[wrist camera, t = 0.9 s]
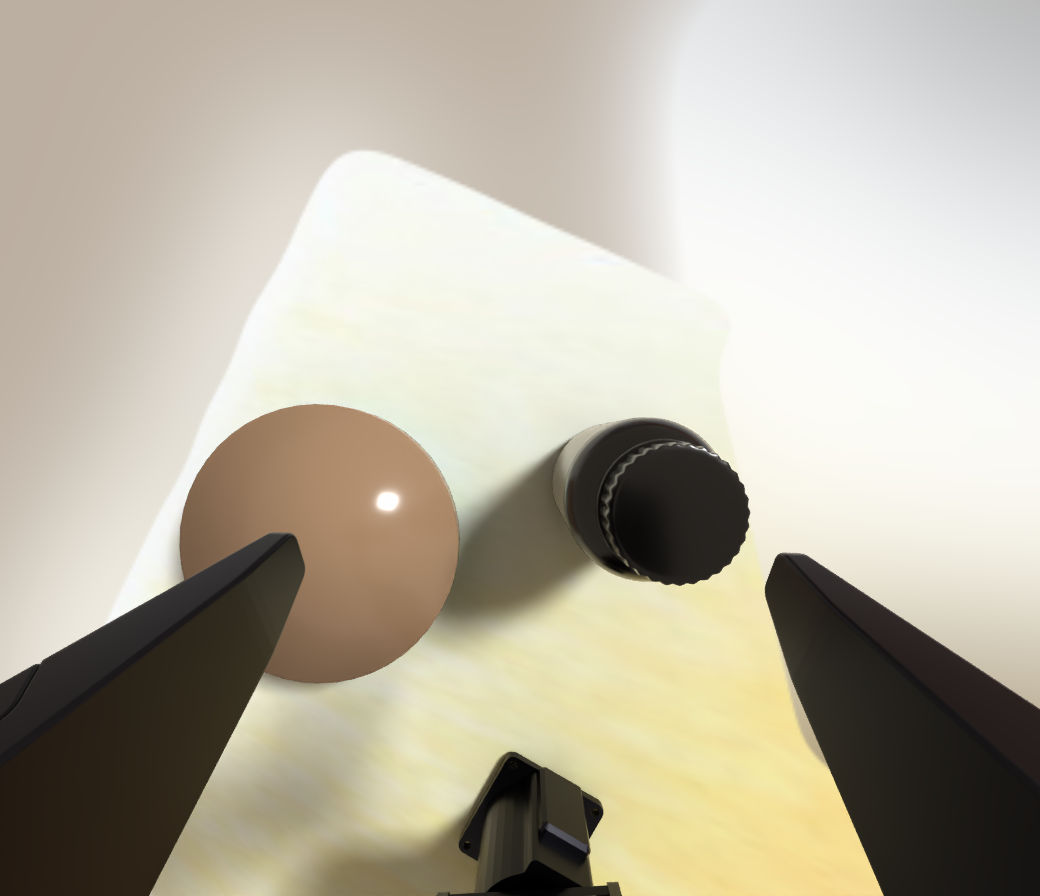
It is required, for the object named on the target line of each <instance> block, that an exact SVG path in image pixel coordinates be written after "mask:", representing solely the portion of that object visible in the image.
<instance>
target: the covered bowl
mask: <svg viewBox="0 0 1040 896" xmlns="http://www.w3.org/2000/svg"><path fill="white" fill-rule="evenodd" d="M271 532H289V533H292V534H294V535H295V536H296V538H297V541H298V544H299V547H300V550H301V553H302V557H303V560H304V563H305V574H304V578H303V581H302V583H301V586H300V588H299V591H298V593H297V596H296V598H295V601H294V603H293V606H292V609H291V611H290V614H289V616H288V619H287V621H286V624H285V626H284V629H283V631H282V634H281V637H280V639H279V641H278V644H277V646H276V648H275V651H274V653H273V655H272V657H271V659H270V661H269V663H268V665H267V667H266V669H265V671H264V672H266V673H269V674H272V675H274V676H277V677H280V678H283V679H288V680H293V681H298V682H307V683H332V682H341V681H346V680H351V679H355V678H358V677H361V676H364V675H367V674H370V673H373V672H375V671H377V670H379V669H381V668H383V667H385V666H387V665H389V664H390V663H392V662H393V661H395V660H396V659H398V658H399V657H401V656H402V655H403V654H405V653H406V652H407V651H408V650H409V649H410V648H411V647H413V646H414V645H415V644H416V643H417V642H418V641H419V640H420V638H421V637H422V636H423V635H424V634H425V633H426V632H427V630H428V629H429V628H430V626H431V625H432V623H433V622H434V620H435V619H436V617H437V616H438V614H439V612H440V610H441V608H442V607H443V605H444V602H445V600H446V598H447V596H448V594H449V592H450V590H451V587H452V584H453V581H454V578H455V575H456V570H457V564H458V559H459V546H460V534H459V522H458V517H457V512H456V507H455V503H454V500H453V498H452V495H451V492H450V489H449V487H448V485H447V483H446V481H445V479H444V477H443V475H442V473H441V471H440V470H439V468H438V467H437V465H436V464H435V462H434V461H433V459H432V458H431V457H430V456H429V454H428V453H427V452H426V451H425V450H424V449H423V448H422V447H421V445H420V444H418V443H417V442H416V441H415V440H414V439H413V438H412V437H410V436H409V435H408V434H407V433H406V432H404V431H403V430H401V429H400V428H398V427H396V426H395V425H393V424H392V423H390V422H388V421H386V420H384V419H382V418H380V417H378V416H375V415H372V414H369V413H366V412H363V411H360V410H356V409H351V408H345V407H340V406H335V405H320V404H313V405H299V406H293V407H289V408H284V409H279V410H277V411H274V412H271V413H268V414H265V415H263V416H261V417H259V418H257V419H255V420H253V421H251V422H249V423H247V424H245V425H244V426H242V427H241V428H240V429H238V430H237V431H235V432H234V433H232V434H231V435H230V436H229V437H228V438H227V439H226V440H224V441H223V442H222V443H221V444H220V445H219V446H218V447H217V448H216V449H215V451H214V452H213V453H212V454H211V455H210V457H209V458H208V459H207V460H206V462H205V463H204V465H203V466H202V468H201V469H200V471H199V473H198V474H197V476H196V478H195V480H194V482H193V484H192V487H191V489H190V491H189V494H188V497H187V500H186V503H185V506H184V510H183V515H182V521H181V526H180V557H181V565H182V570H183V575H184V579H185V580H186V579H188V578H190V577H192V576H193V575H195V574H197V573H199V572H201V571H202V570H204V569H206V568H208V567H209V566H211V565H213V564H215V563H217V562H218V561H220V560H222V559H224V558H225V557H227V556H229V555H231V554H233V553H234V552H236V551H238V550H240V549H242V548H243V547H245V546H247V545H249V544H250V543H252V542H254V541H256V540H258V539H259V538H261V537H263V536H265V535H266V534H268V533H271Z"/></svg>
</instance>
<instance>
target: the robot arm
mask: <svg viewBox="0 0 1040 896" xmlns="http://www.w3.org/2000/svg"><path fill="white" fill-rule="evenodd" d="M304 574H305V563H304V560H303V557H302V553H301V550H300V547H299V544H298V541H297V538H296V536H295V535H294V534H292V533H289V532H271V533H268V534H266V535H265V536H263V537H261V538H259V539H258V540H256V541H254V542H252V543H250V544H249V545H247V546H245V547H243V548H242V549H240V550H238V551H236V552H234V553H233V554H231V555H229V556H227V557H225V558H224V559H222V560H220V561H218V562H217V563H215V564H213V565H211V566H209V567H208V568H206V569H204V570H202V571H201V572H199V573H197V574H195V575H193V576H192V577H190V578H188V579H186V580H185V581H183V582H181V583H179V584H177V585H176V586H174V587H172V588H170V589H169V590H167V591H165V592H163V593H161V594H160V595H158V596H156V597H154V598H152V599H151V600H149V601H147V602H145V603H144V604H142V605H140V606H138V607H136V608H135V609H133V610H131V611H129V612H128V613H126V614H124V615H122V616H120V617H119V618H117V619H115V620H113V621H112V622H110V623H108V624H106V625H104V626H103V627H101V628H99V629H97V630H95V631H94V632H92V633H90V634H89V635H87V636H85V637H83V638H81V639H79V640H78V641H76V642H74V643H72V644H71V645H69V646H67V647H65V648H63V649H62V650H60V651H58V652H56V653H55V654H53V655H51V656H49V657H48V658H46V659H44V660H43V661H42V662H41V664H35V665H33V666H31V667H30V668H28V669H26V670H24V671H22V672H21V673H19V674H17V675H15V676H13V677H12V678H10V679H8V680H6V681H5V682H3V683H1V684H0V896H149V895H150V893H151V891H152V889H153V887H154V885H155V883H156V881H157V879H158V877H159V875H160V873H161V871H162V869H163V867H164V866H165V864H166V862H167V860H168V858H169V856H170V854H171V852H172V850H173V848H174V846H175V844H176V842H177V840H178V838H179V836H180V834H181V832H182V831H183V829H184V827H185V825H186V823H187V821H188V819H189V817H190V815H191V813H192V811H193V809H194V807H195V805H196V803H197V801H198V799H199V797H200V796H201V794H202V792H203V790H204V788H205V786H206V784H207V782H208V780H209V778H210V776H211V774H212V772H213V770H214V768H215V766H216V764H217V762H218V761H219V759H220V757H221V755H222V753H223V751H224V749H225V747H226V745H227V743H228V741H229V739H230V737H231V735H232V733H233V731H234V729H235V727H236V725H237V724H238V722H239V720H240V718H241V716H242V714H243V712H244V710H245V708H246V706H247V704H248V702H249V700H250V698H251V696H252V694H253V692H254V690H255V689H256V687H257V685H258V683H259V681H260V679H261V677H262V675H263V673H264V671H265V669H266V667H267V665H268V663H269V661H270V659H271V657H272V655H273V653H274V651H275V648H276V646H277V644H278V641H279V639H280V637H281V634H282V631H283V629H284V626H285V624H286V621H287V619H288V616H289V614H290V611H291V609H292V606H293V603H294V601H295V598H296V596H297V593H298V591H299V588H300V586H301V583H302V581H303V578H304ZM765 597H766V601H767V604H768V607H769V610H770V614H771V617H772V620H773V623H774V626H775V630H776V633H777V636H778V639H779V642H780V646H781V649H782V652H783V655H784V659H785V662H786V665H787V668H788V671H789V674H790V677H791V680H792V682H793V685H794V687H795V689H796V692H797V695H798V697H799V699H800V701H801V704H802V706H803V708H804V711H805V713H806V715H807V718H808V720H809V722H810V725H811V727H812V729H813V732H814V734H815V736H816V739H817V741H818V743H819V746H820V748H821V750H822V753H823V755H824V757H825V760H826V762H827V764H828V767H829V769H830V771H831V774H832V776H833V778H834V781H835V783H836V785H837V788H838V790H839V792H840V795H841V797H842V799H843V802H844V804H845V806H846V809H847V811H848V813H849V816H850V818H851V820H852V823H853V825H854V827H855V830H856V832H857V834H858V837H859V839H860V841H861V844H862V846H863V848H864V851H865V853H866V855H867V858H868V860H869V862H870V865H871V867H872V869H873V872H874V874H875V876H876V879H877V881H878V883H879V886H880V888H881V890H882V893H883V895H884V896H1040V709H1039V708H1037V707H1036V706H1035V705H1033V704H1032V703H1030V702H1028V701H1027V700H1025V699H1024V698H1022V697H1021V696H1019V695H1018V694H1016V693H1015V692H1013V691H1012V690H1010V689H1009V688H1007V687H1006V686H1004V685H1003V684H1001V683H1000V682H998V681H996V680H995V679H993V678H992V677H990V676H989V675H987V674H986V673H984V672H983V671H981V670H980V669H978V668H977V667H975V666H974V665H972V664H971V663H969V662H968V661H966V660H965V659H963V658H962V657H960V656H959V655H957V654H956V653H954V652H953V651H951V650H950V649H948V648H947V647H945V646H943V645H942V644H940V643H939V642H937V641H936V640H934V639H933V638H931V637H930V636H928V635H927V634H925V633H924V632H922V631H921V630H919V629H917V628H916V627H914V626H913V625H912V624H910V623H909V622H907V621H905V620H904V619H902V618H901V617H899V616H898V615H896V614H895V613H893V612H892V611H890V610H889V609H887V608H886V607H884V606H883V605H881V604H880V603H878V602H876V601H875V600H874V599H872V598H870V597H869V596H868V595H866V594H864V593H863V592H861V591H860V590H858V589H857V588H855V587H854V586H852V585H851V584H849V583H848V582H846V581H845V580H843V579H842V578H840V577H839V576H837V575H836V574H834V573H833V572H831V571H830V570H828V569H827V568H825V567H824V566H822V565H820V564H819V563H817V562H816V561H814V560H813V559H811V558H810V557H808V556H807V555H804V554H800V553H780V554H778V555H777V557H776V558H775V561H774V563H773V566H772V569H771V571H770V574H769V577H768V579H767V582H766V585H765ZM511 761H516V762H517V763H516V764H514V765H513V764H511V763H510V762H511ZM593 808H597V810H596V811H592V809H593ZM602 816H603V807H602V804H601V802H600V801H599V800H598V799H596V798H594V797H593V796H591V795H589V794H587V793H586V792H584V791H582V790H581V788H580V787H579V786H577V785H575V784H574V783H572V782H570V781H568V780H567V779H565V778H563V777H561V776H560V775H558V774H556V773H554V772H553V771H551V770H549V769H548V768H546V767H541V766H539V765H537V764H535V763H534V762H532V761H530V760H529V759H527V758H525V757H523V756H522V755H520V754H518V753H516V752H511V753H509V754H508V755H507V756H506V757H505V759H504V761H503V763H502V764H501V766H500V768H499V770H498V771H497V773H496V775H495V776H494V778H493V780H492V782H491V783H490V785H489V787H488V789H487V790H486V792H485V794H484V796H483V797H482V799H481V801H480V803H479V804H478V806H477V808H476V809H475V811H474V813H473V815H472V816H471V818H470V820H469V822H468V823H467V825H466V827H465V829H464V830H463V832H462V834H461V836H460V840H459V848H460V850H461V851H462V852H463V853H465V854H467V855H468V856H470V857H472V858H473V859H475V860H477V861H478V866H477V874H476V883H475V891H474V893H468V894H450V892H438V894H437V896H622V895H621V891H620V887H619V884H618V882H607V886H593V881H592V875H591V868H590V861H589V854H590V852H591V849H590V843H589V839H590V837H591V835H592V834H593V832H594V830H595V828H596V827H597V825H598V823H599V822H600V820H601V818H602ZM465 841H469V842H470V843H466V842H465Z"/></svg>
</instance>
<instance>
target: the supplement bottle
mask: <svg viewBox="0 0 1040 896" xmlns="http://www.w3.org/2000/svg"><path fill="white" fill-rule="evenodd" d="M552 487H553V494H554V498H555V501H556V504H557V507H558V509H559V511H560V513H561V515H562V517H563V519H564V520H565V522H566V524H567V526H568V528H569V530H570V532H571V534H572V536H573V537H574V539H575V541H576V542H577V544H578V545H579V547H580V548H581V549H582V550H583V552H584V553H585V554H586V555H587V556H588V557H589V558H590V559H591V560H592V561H593V562H595V563H596V564H597V565H598V566H600V567H601V568H603V569H604V570H606V571H608V572H610V573H612V574H614V575H616V576H619V577H622V578H625V579H629V580H634V581H642V582H661V583H662V584H664V585H670V584H675V585H678V586H681V585H684V584H686V583H689V584H695V583H697V582H698V581H700V580H708V579H709V578H710V577H711V576H712V575H714V574H718V573H720V572H721V570H722V569H723V567H725V566H727V565H729V564H730V563H731V561H732V559H733V557H734V556H736V555H737V554H738V553H739V551H740V546H741V545H742V544H743V543H744V541H745V538H746V536H745V533H746V531H747V530H748V528H749V523H748V518H749V515H750V510H749V508H748V500H749V499H748V497H747V495H746V494H745V488H744V485H743V484H742V483H741V482H740V481H739V477H738V474H737V473H736V472H735V471H733V470H731V467H730V465H729V463H728V462H726V461H724V460H721V459H720V457H719V456H718V455H717V454H716V453H715V452H714V450H713V449H712V448H711V446H710V445H709V444H708V443H707V442H706V441H705V440H704V439H702V438H701V437H700V436H699V435H698V434H696V433H695V432H693V431H692V430H690V429H688V428H687V427H685V426H683V425H680V424H678V423H675V422H672V421H669V420H665V419H659V418H632V419H627V420H621V421H616V422H611V423H606V424H600V425H597V426H594V427H591V428H588V429H586V430H584V431H582V432H580V433H579V434H577V435H576V436H575V437H573V438H572V439H571V440H570V441H569V442H568V443H567V444H566V445H565V447H564V448H563V449H562V451H561V453H560V454H559V456H558V458H557V461H556V463H555V466H554V471H553V478H552Z"/></svg>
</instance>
